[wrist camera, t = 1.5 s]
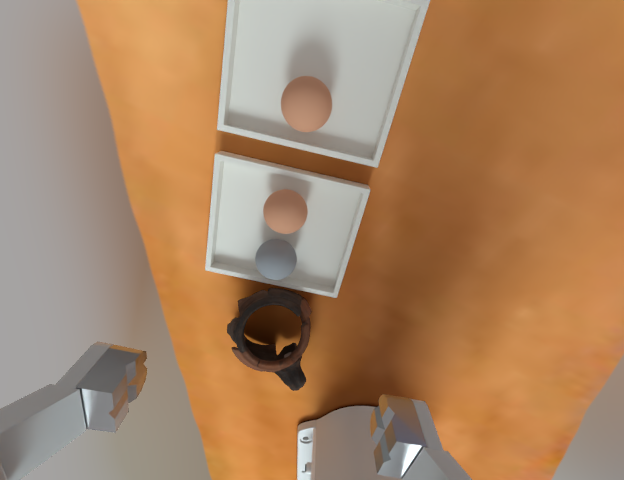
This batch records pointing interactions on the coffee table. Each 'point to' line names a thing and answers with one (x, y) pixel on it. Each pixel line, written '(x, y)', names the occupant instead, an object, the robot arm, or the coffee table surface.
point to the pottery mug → (266, 355)
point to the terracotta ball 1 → (306, 104)
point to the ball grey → (276, 259)
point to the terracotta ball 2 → (285, 211)
